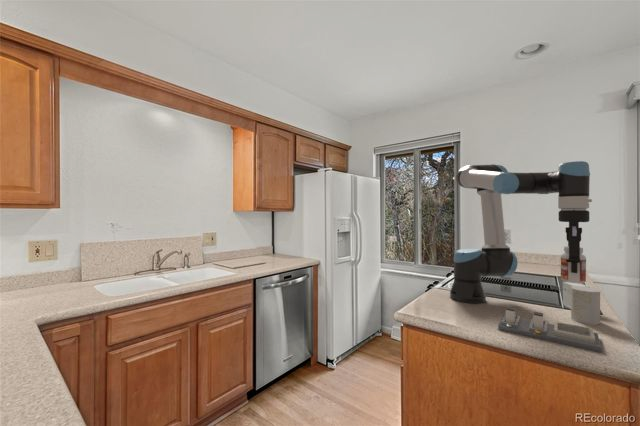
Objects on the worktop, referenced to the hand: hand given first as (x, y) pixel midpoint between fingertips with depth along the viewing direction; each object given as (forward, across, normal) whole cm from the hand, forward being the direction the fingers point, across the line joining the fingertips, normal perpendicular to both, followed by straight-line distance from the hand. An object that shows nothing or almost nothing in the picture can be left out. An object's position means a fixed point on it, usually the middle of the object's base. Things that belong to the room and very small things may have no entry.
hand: (573, 280), depth 93 cm
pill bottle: (+1, 0, 0) cm, 1 cm away
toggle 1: (+17, -2, +17) cm, 24 cm away
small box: (+19, +38, -2) cm, 42 cm away
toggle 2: (+17, -2, +9) cm, 19 cm away
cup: (+19, +23, -4) cm, 30 cm away
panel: (+19, -1, +7) cm, 20 cm away
